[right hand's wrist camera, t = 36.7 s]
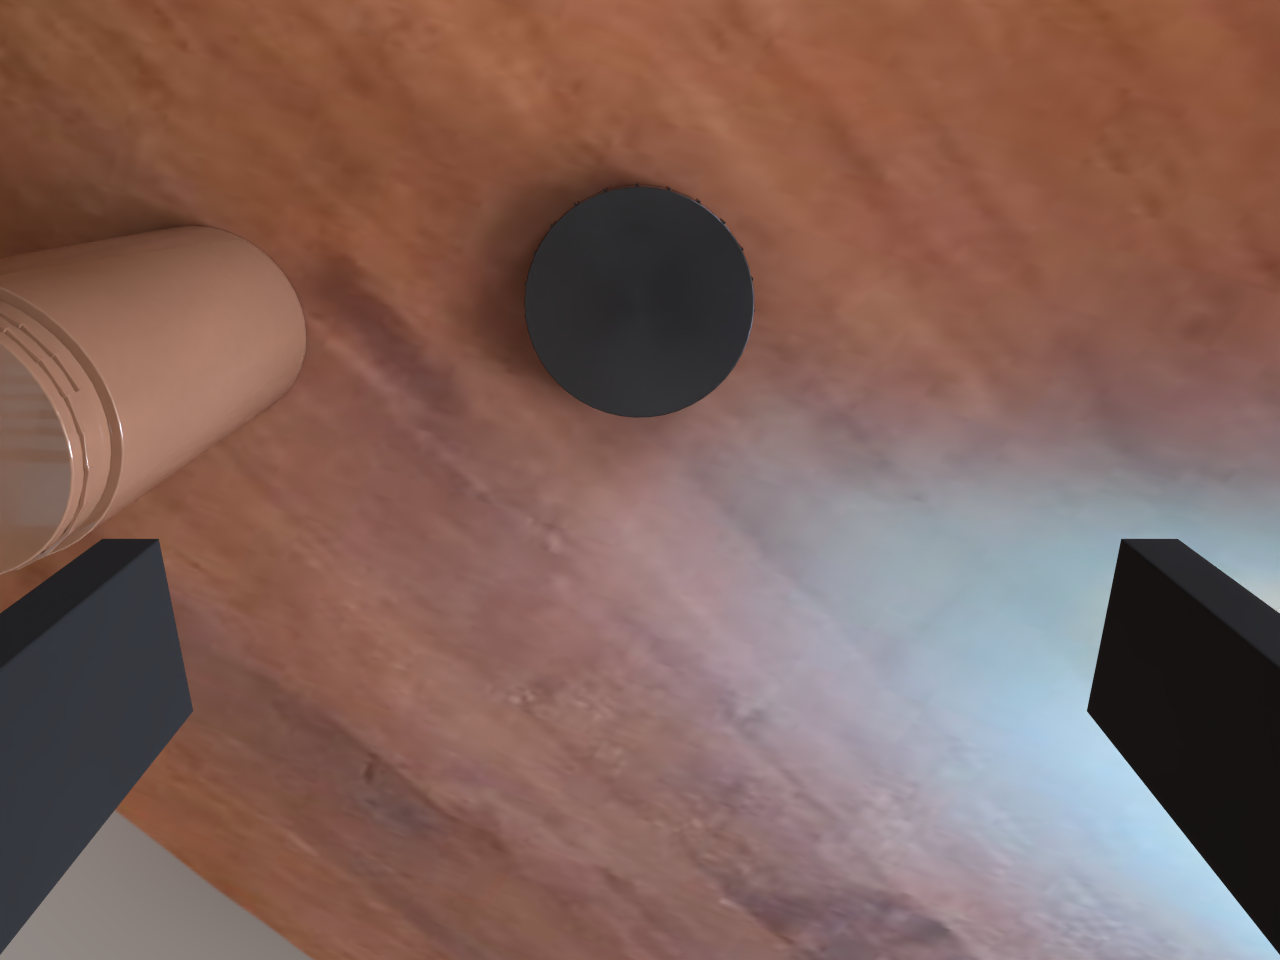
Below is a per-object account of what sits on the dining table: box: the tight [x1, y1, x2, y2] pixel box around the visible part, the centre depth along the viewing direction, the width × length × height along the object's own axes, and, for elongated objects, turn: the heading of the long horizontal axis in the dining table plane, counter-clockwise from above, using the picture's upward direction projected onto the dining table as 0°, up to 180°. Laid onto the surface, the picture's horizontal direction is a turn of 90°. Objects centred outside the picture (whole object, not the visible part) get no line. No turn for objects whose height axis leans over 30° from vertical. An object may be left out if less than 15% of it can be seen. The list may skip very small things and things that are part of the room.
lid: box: [525, 183, 754, 417], centre depth 37 cm, size 9×9×2 cm
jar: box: [0, 226, 306, 574], centre depth 31 cm, size 8×8×17 cm
